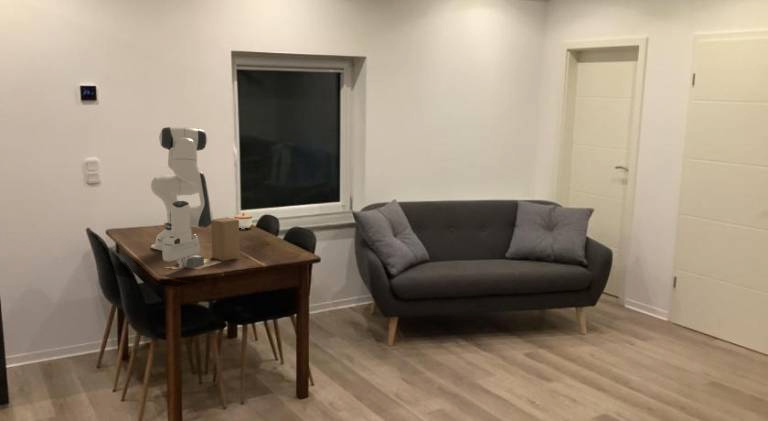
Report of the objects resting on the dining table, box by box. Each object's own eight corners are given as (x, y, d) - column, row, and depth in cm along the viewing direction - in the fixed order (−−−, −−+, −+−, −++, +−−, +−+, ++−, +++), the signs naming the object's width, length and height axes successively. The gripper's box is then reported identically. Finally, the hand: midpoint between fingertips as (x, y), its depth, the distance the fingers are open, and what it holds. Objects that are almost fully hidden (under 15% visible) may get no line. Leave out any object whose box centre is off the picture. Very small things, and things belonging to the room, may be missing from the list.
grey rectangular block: (185, 266, 310) (184, 257, 309) (195, 263, 316) (195, 254, 315) (193, 268, 308) (192, 259, 307) (203, 264, 314) (203, 256, 313)
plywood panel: (178, 267, 311) (178, 265, 311) (203, 260, 325) (203, 258, 325) (198, 271, 306) (198, 269, 306) (222, 264, 320) (222, 261, 320)
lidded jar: (252, 229, 403) (252, 214, 402) (234, 230, 401) (234, 214, 399) (252, 226, 414) (251, 211, 412) (234, 226, 411) (234, 211, 410)
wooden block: (228, 255, 336) (227, 216, 333) (240, 259, 330) (239, 219, 327) (211, 259, 329) (210, 219, 326) (223, 262, 322) (222, 222, 319)
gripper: (192, 232, 313) (193, 261, 316) (159, 240, 296) (160, 270, 298) (203, 234, 310) (203, 263, 313) (169, 242, 293) (171, 272, 295)
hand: (182, 266), depth 305 cm, fingers closed
